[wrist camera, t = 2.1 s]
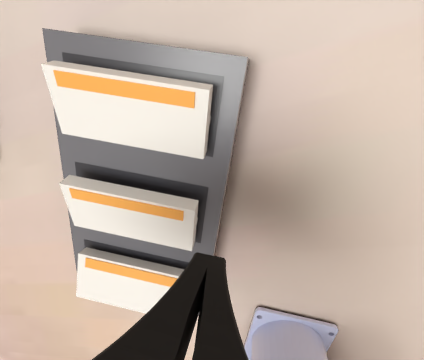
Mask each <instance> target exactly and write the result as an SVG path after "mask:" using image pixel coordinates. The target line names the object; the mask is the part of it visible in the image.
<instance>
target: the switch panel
mask: <svg viewBox="0 0 424 360" xmlns="http://www.w3.org/2000/svg"><path fill="white" fill-rule="evenodd" d="M42 29H43V36H44V43H45V50H46V57H47V62H50V61H54V60H55V61H62V62H68V63H75V64H81V65H88V66H94V67H101V68H107V69H114V70H120V71H127V72H133V73H140V74H146V75H153V76H160V77H166V78H173V79H179V80H186V81H192V82H199V83H205V84H212V85H213V91H212V101H211V112H210V115H211V120H210V125H209V133H208V143H207V152H206V154H205V157H204V159H199V158H193V157H188V156H182V155H177V154H171V153H166V152H160V151H155V150H149V149H144V148H138V147H133V146H127V145H122V144H116V143H111V142H105V141H100V140H94V139H89V138H83V137H78V136H72V135H67V134H62V132H61V128H60V125H59V122H58V118H57V115H56V112H55V109H54V114H55V121H56V128H57V135H58V142H59V149H60V156H61V163H62V170H63V177H64V179H65V178H66V177H67V176H68V175H73V176H78V177H83V178H88V179H93V180H98V181H103V182H109V183H114V184H119V185H124V186H129V187H134V188H139V189H144V190H149V191H154V192H159V193H164V194H169V195H174V196H179V197H184V198H189V199H194V200H199V202H198V214H197V217H198V221H197V226H196V237H195V243H194V246H193V249H192V251H188V250H184V249H179V248H175V247H170V246H165V245H161V244H156V243H152V242H147V241H142V240H138V239H133V238H129V237H124V236H119V235H115V234H110V233H106V232H101V231H96V230H92V229H87V228H83V227H78V226H74V223H73V220H72V218H71V215H70V212H69V209H68V212H69V219H70V226H71V234H72V241H73V248H74V255H75V262H76V269H77V268H78V253H79V252H81V251H82V250H83V249H85V248H86V247H87V248H91V249H96V250H100V251H105V252H109V253H114V254H118V255H122V256H127V257H131V258H136V259H140V260H145V261H149V262H154V263H158V264H162V265H167V266H171V267H176V268H180V269H185V268H186V267H187V265H188V264H189V262H190V261H191V259H192V257H193V255H194V254H195V253H196V252H199V253H203V254H208V255H212V256H214V255H215V249H216V244H217V238H218V232H219V227H220V221H221V215H222V210H223V204H224V198H225V193H226V187H227V181H228V176H229V170H230V164H231V159H232V153H233V148H234V142H235V136H236V131H237V125H238V119H239V114H240V108H241V102H242V97H243V91H244V85H245V80H246V74H247V68H248V63H249V59H248V57H243V56H236V55H229V54H222V53H215V52H207V51H200V50H193V49H186V48H179V47H172V46H165V45H158V44H151V43H144V42H136V41H129V40H122V39H115V38H108V37H101V36H94V35H87V34H80V33H73V32H65V31H58V30H51V29H44V28H42ZM53 107H54V105H53ZM198 315H199V314H198Z"/></svg>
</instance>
